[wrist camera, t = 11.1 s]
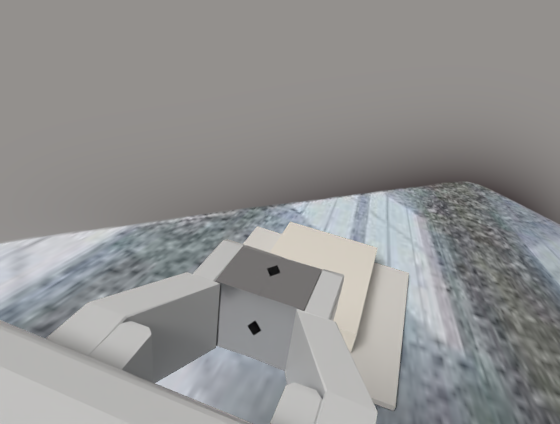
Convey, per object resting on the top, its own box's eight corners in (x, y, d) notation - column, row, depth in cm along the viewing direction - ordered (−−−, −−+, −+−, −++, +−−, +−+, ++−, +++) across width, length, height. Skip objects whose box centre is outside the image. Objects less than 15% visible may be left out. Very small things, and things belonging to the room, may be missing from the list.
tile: (350, 354, 34) (372, 264, 46) (356, 334, 33) (377, 247, 45) (238, 314, 36) (287, 238, 48) (241, 294, 35) (290, 221, 47)
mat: (407, 276, 46) (408, 273, 46) (393, 411, 30) (395, 406, 30) (256, 230, 50) (257, 226, 49) (177, 328, 34) (177, 324, 34)
